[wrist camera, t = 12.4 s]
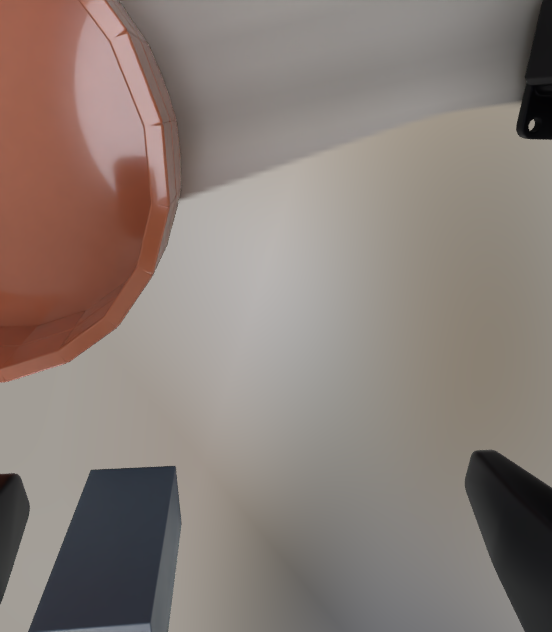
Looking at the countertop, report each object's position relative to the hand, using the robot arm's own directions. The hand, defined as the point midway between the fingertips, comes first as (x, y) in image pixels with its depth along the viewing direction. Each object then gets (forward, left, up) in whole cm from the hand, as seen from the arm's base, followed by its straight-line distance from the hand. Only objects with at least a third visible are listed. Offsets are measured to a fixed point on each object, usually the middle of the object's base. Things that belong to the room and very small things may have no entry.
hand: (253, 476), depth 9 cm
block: (+6, +13, -12) cm, 18 cm away
